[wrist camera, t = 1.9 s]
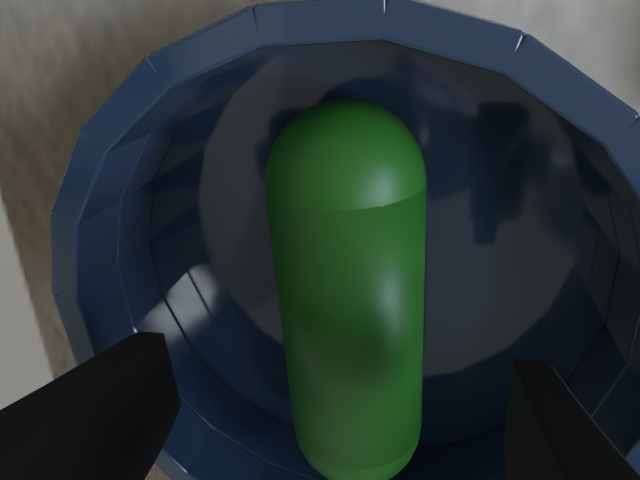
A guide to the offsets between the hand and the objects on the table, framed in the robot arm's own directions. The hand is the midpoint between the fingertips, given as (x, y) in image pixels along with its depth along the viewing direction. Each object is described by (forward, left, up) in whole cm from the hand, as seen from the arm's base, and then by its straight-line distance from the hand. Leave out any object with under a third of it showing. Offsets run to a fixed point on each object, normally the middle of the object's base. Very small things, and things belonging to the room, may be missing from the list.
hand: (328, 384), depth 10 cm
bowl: (0, 0, -5) cm, 5 cm away
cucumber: (0, 0, -5) cm, 5 cm away
